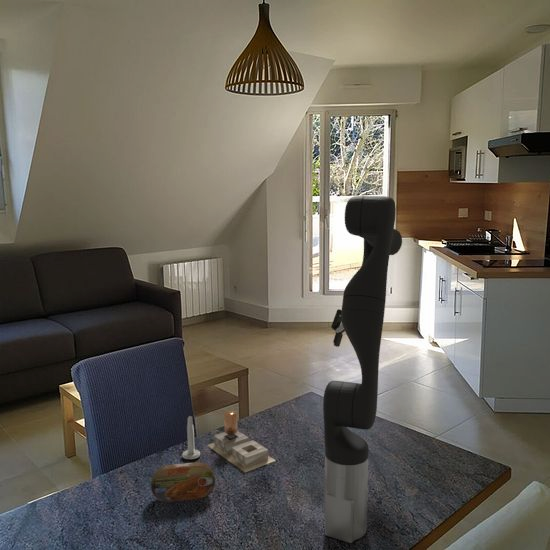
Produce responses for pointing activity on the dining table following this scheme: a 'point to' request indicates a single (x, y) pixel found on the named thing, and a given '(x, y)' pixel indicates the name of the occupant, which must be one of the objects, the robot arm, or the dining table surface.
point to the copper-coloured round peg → (230, 424)
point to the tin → (183, 482)
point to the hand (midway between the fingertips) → (348, 351)
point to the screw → (190, 442)
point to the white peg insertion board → (241, 451)
